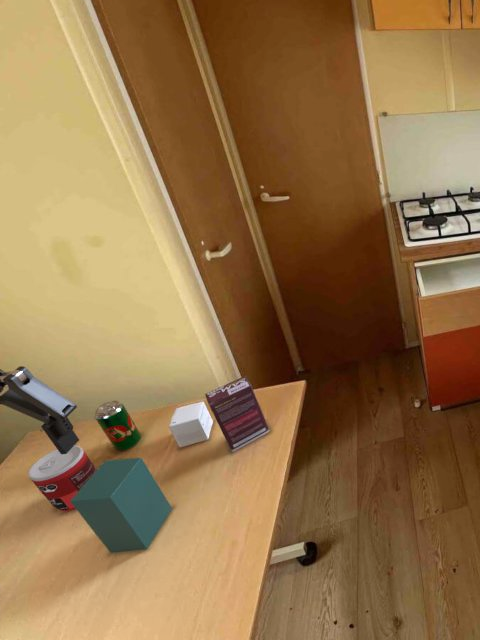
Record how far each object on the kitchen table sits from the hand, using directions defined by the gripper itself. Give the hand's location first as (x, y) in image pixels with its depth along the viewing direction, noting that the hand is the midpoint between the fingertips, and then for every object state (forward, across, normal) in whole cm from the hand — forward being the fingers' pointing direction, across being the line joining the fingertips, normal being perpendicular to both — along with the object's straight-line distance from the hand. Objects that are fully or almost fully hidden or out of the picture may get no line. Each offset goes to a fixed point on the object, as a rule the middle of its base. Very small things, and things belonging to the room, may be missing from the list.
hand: (24, 451), depth 69 cm
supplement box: (+27, +18, +23) cm, 40 cm away
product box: (+27, +5, +25) cm, 38 cm away
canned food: (+28, -11, +11) cm, 32 cm away
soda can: (+28, -10, +24) cm, 38 cm away
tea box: (+19, +7, +2) cm, 20 cm away
